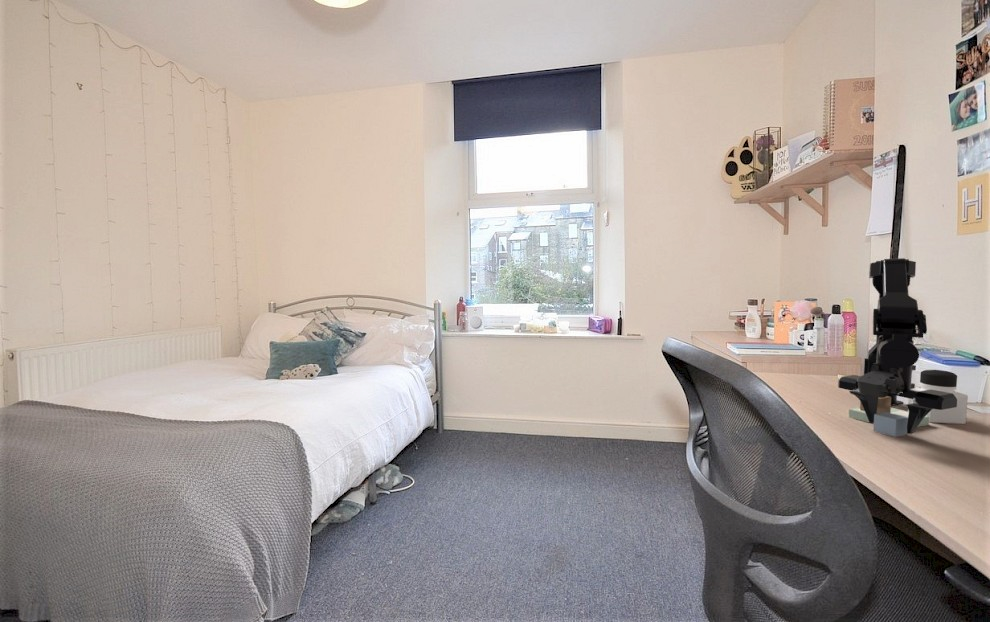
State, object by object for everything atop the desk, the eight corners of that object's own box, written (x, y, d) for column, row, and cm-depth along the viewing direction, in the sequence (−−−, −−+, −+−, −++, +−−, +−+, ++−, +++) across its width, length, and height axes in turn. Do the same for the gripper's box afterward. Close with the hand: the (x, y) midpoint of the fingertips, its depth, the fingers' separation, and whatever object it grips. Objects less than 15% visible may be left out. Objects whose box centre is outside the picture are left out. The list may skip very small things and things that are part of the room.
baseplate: (877, 411, 105) (878, 404, 105) (928, 424, 95) (929, 416, 95) (848, 416, 101) (849, 408, 101) (898, 430, 92) (899, 421, 92)
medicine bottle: (966, 424, 95) (970, 374, 94) (930, 422, 96) (933, 373, 96) (940, 414, 102) (943, 368, 101) (906, 413, 103) (909, 367, 103)
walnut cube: (870, 408, 101) (871, 392, 101) (890, 413, 98) (891, 397, 97) (860, 410, 100) (860, 394, 100) (879, 415, 96) (880, 398, 96)
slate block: (884, 428, 94) (885, 412, 93) (906, 434, 90) (907, 417, 89) (873, 431, 92) (874, 414, 92) (895, 437, 89) (896, 419, 88)
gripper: (823, 355, 96) (820, 419, 97) (926, 371, 78) (921, 449, 80) (855, 352, 100) (852, 413, 101) (961, 367, 82) (955, 441, 83)
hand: (890, 427), depth 91 cm, fingers open, 7 cm apart
